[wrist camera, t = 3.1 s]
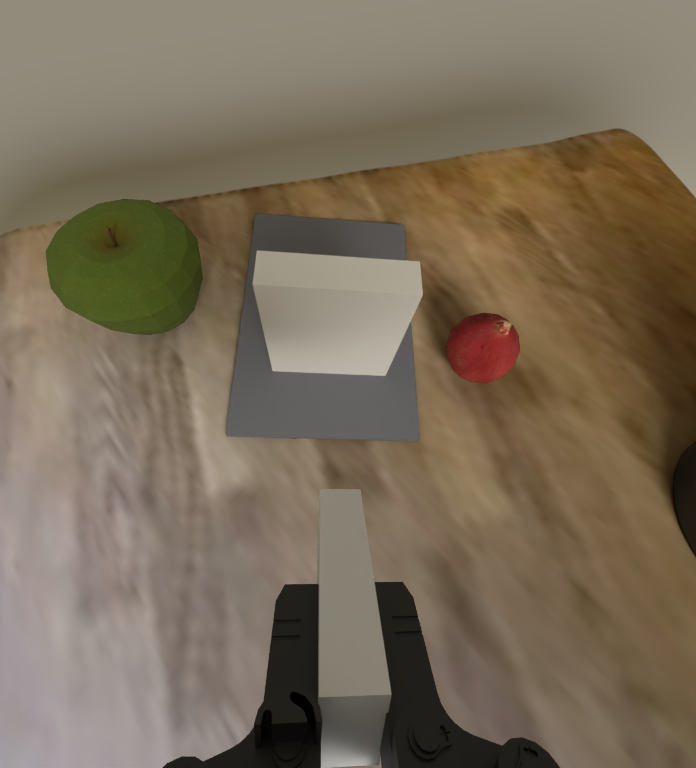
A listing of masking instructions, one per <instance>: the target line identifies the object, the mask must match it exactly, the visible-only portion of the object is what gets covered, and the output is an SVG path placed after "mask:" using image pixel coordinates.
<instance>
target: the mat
mask: <svg viewBox="0 0 696 768" xmlns="http://www.w3.org/2000/svg"><path fill="white" fill-rule="evenodd" d="M257 250H258V251H273V252H287V253H302V254H316V255H331V256H345V257H360V258H374V259H389V260H404V261H407V259H406V245H405V231H404V225H401V224H388V223H375V222H362V221H349V220H336V219H323V218H310V217H297V216H284V215H271V214H258V213H255V221H254V228H253V236H252V243H251V250H250V258H249V265H248V272H247V280H246V287H245V295H244V302H243V309H242V317H241V324H240V332H239V339H238V346H237V354H236V361H235V369H234V376H233V383H232V391H231V398H230V405H229V413H228V420H227V428H226V436H234V437H272V438H310V439H348V440H385V441H419V440H420V436H419V423H418V409H417V395H416V382H415V368H414V354H413V341H412V327H411V322H410V324H409V326H408V328H407V330H406V332H405V335H404V337H403V339H402V341H401V343H400V345H399V348H398V350H397V352H396V354H395V356H394V358H393V361H392V363H391V365H390V367H389V369H388V371H387V374H386V376H375V375H351V374H327V373H303V372H278V371H272V367H271V362H270V358H269V354H268V349H267V345H266V341H265V336H264V332H263V328H262V323H261V319H260V315H259V310H258V306H257V302H256V297H255V293H254V289H253V277H254V269H255V261H256V253H257Z"/></svg>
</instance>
